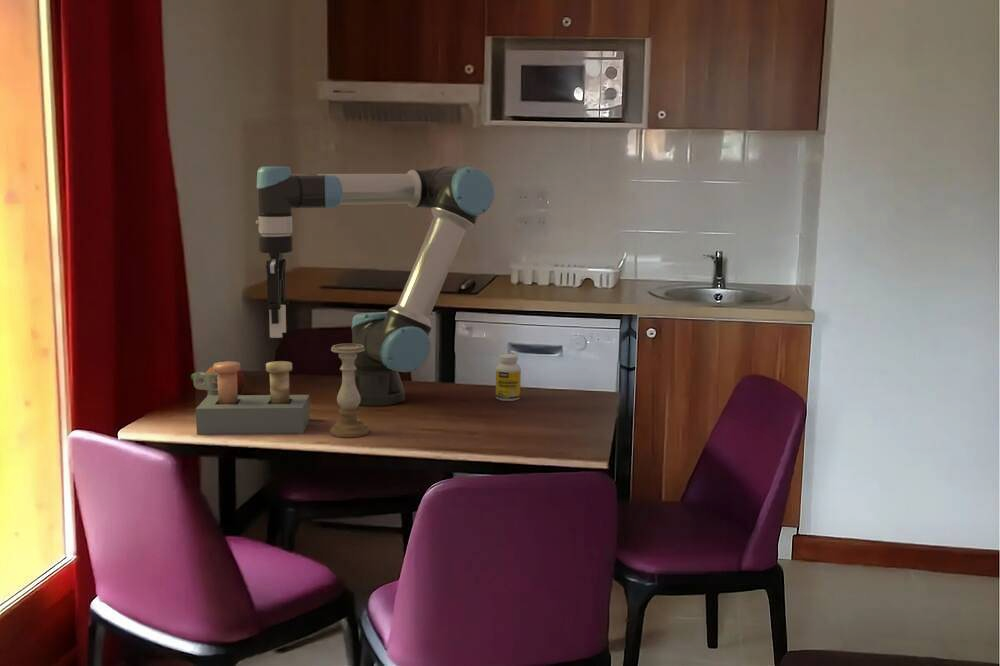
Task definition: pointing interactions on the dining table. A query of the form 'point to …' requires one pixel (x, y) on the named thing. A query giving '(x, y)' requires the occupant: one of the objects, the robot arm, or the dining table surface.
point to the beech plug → (279, 381)
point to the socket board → (252, 415)
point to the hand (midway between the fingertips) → (278, 334)
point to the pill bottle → (508, 378)
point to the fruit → (239, 378)
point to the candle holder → (348, 394)
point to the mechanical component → (206, 382)
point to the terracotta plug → (227, 381)
